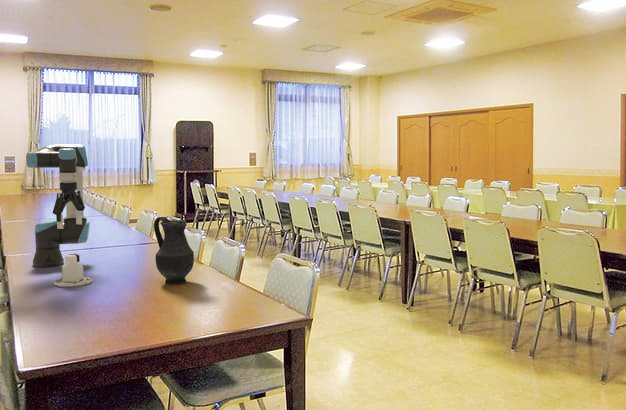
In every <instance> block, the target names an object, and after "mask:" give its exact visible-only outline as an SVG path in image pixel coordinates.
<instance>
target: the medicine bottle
mask: <svg viewBox="0 0 626 410" xmlns="http://www.w3.org/2000/svg"><path fill="white" fill-rule="evenodd" d="M80 262H81V261H80V254H77V253H68V254H66V255H65V256H64V264H63V266H61V279H62V282H79V281H80V280H82V279H83V277H84V264H83V263H80Z"/></svg>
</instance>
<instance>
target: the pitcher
mask: <svg viewBox="0 0 626 410" xmlns="http://www.w3.org/2000/svg"><path fill="white" fill-rule="evenodd" d="M187 224H188V223H187V220H183V219H182V220H181V219H179V220H177V219H173V220H172V219H169V218H167V217H166V216H158V217H156V218H155V220H154V223H153V230H154V234H155V237H156V241H157V244H158V247H159V249H158V251H157V252H156V253H155V266H156V269H157V271H158V272H159V274H160V275H161V276H162V277H163V278H165V281H164V283H165V284H167V285H181V284H186V282H187V279H186V277H187V276H188V275H189V274H190V273H191V271H192V270H193V267H194V264H195V252H194V250H193V249H192V248H191V247H190V245H189V243H188V242H189V241H188V240H187V236H186V234H185V230H186V227H187ZM160 225H161V227H162V230H163V233H164V234H163V235H164V237H163V236H162V233H161V229H160Z"/></svg>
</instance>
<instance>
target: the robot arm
mask: <svg viewBox="0 0 626 410" xmlns="http://www.w3.org/2000/svg"><path fill="white" fill-rule="evenodd" d="M25 155H26V156H25V159H26V160H25V162H26V166H27V168H30V169H31V168H33V169H38V168H39V169H41V168H42V169H45V168H46V169H47V168H48V169H49V168H51V169H52V168H53V169H55V168H56V169H58V170H59V171H58V175H59V176H58V177H59V178H58V179H59V181H60V182H59V190H60V191H61V192H58V193H56V199H55V203H54V206H53V209H52V215H56V216H55V217H56V219H52V220H51V219H50V220H45V221H40V222H37V223H36V224H35V225H34V236H35V240H34V241H35V251H34V252H35V253H34V255H33V258H32V259H33V260H32V267H36V268H49V267H50V268H51V267H52V268H53V267H56V266H61V265H65V258H64V257H63V254H62V251H61V247H60V246H61V245H74V244H77V245H79V244H85V243H87V242H88V240H89V232H90V221H88V219H87V217H86V216H85V215H84V211H85V208H86V206H85V204H84V184H83V183H84V182H83V181H84V179H83V177H84V176H83V173H84V171H85V170H86V167H88V166H89V163H88V157H87V150H86V146H85V145H83V144H50V145H46V146H43V147H40V148H39V149H38V150H37V151H28V152H26V154H25ZM64 209H66V210H65V211H66V212H65V217H64V215H63V214H62V213H63V212H64Z"/></svg>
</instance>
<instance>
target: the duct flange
mask: <svg viewBox="0 0 626 410" xmlns="http://www.w3.org/2000/svg"><path fill="white" fill-rule="evenodd" d="M92 283H93V279H92V278H91V277H88V276H83V279H82V280H80V281H79V282H62V278H58V279H57V280H54V281H53V286H54V287H58V288H77V287H83V286H87V285H90V284H92Z"/></svg>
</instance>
